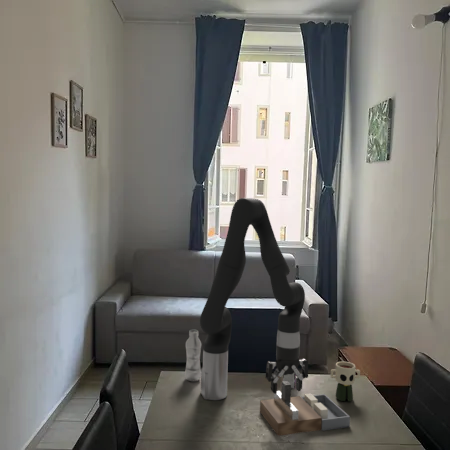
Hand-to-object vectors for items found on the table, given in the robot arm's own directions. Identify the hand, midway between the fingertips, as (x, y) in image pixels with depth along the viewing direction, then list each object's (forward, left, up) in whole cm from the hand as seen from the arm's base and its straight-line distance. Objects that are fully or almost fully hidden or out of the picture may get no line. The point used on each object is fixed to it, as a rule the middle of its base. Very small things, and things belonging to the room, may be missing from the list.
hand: (286, 391), depth 150 cm
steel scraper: (0, 0, -6) cm, 6 cm away
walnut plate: (+2, 0, -10) cm, 10 cm away
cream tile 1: (+10, +4, -7) cm, 13 cm away
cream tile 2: (+10, -4, -7) cm, 13 cm away
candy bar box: (+14, +28, -10) cm, 33 cm away
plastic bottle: (-23, +39, -10) cm, 46 cm away
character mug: (+28, +10, -10) cm, 31 cm away
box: (+14, 0, -10) cm, 17 cm away
